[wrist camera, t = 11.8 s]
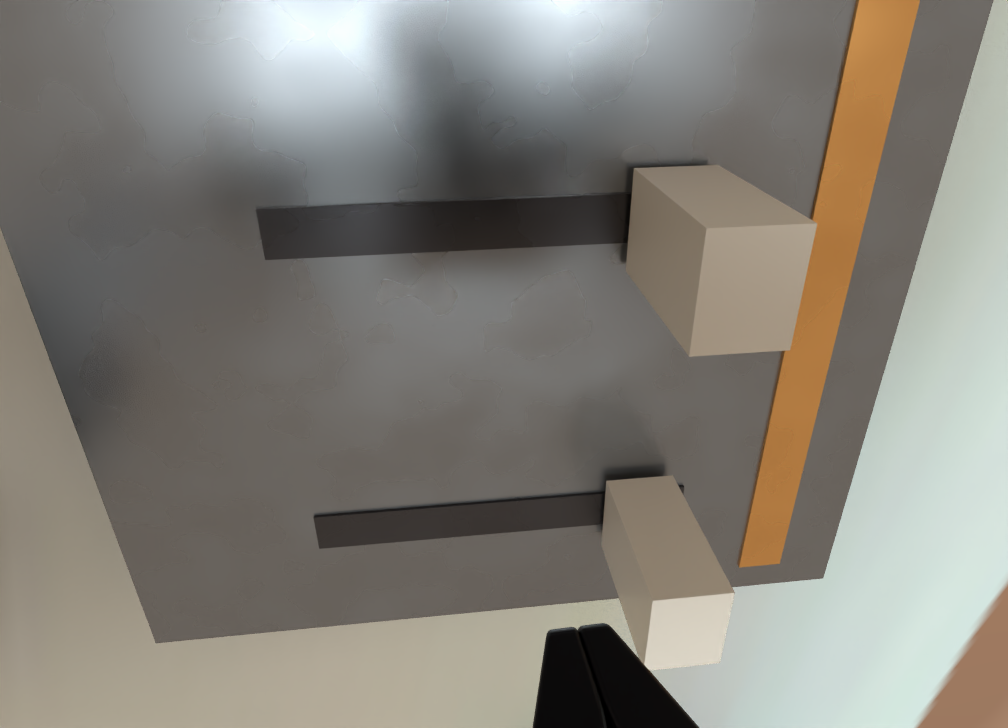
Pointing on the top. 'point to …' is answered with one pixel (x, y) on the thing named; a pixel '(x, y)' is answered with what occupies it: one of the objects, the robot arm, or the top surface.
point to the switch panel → (451, 281)
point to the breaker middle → (717, 259)
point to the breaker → (665, 574)
